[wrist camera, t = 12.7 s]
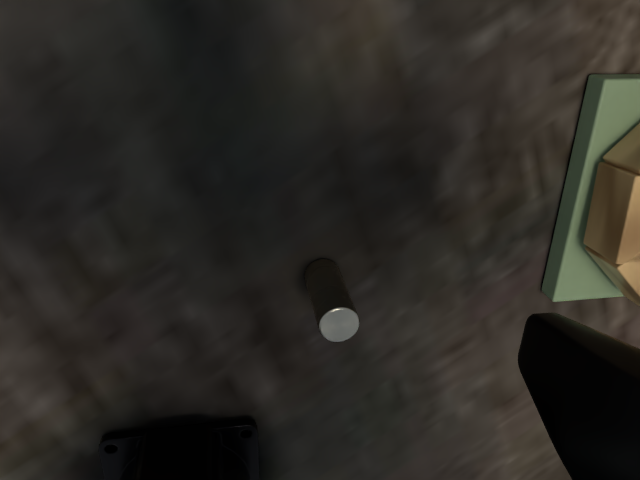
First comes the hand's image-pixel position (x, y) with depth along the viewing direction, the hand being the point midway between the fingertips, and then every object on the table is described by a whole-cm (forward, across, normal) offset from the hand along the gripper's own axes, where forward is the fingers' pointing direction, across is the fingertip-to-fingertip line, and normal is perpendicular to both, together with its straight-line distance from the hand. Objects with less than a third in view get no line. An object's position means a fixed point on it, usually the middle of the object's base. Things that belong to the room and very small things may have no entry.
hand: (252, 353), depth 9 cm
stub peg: (+12, -3, +5) cm, 13 cm away
